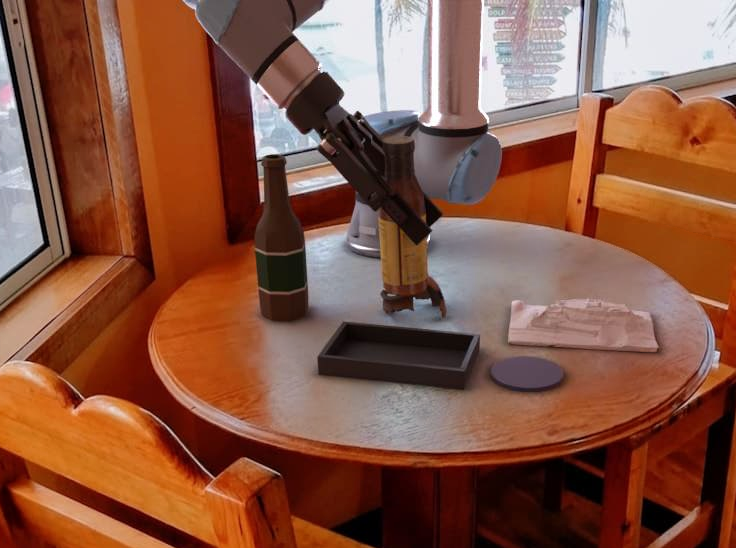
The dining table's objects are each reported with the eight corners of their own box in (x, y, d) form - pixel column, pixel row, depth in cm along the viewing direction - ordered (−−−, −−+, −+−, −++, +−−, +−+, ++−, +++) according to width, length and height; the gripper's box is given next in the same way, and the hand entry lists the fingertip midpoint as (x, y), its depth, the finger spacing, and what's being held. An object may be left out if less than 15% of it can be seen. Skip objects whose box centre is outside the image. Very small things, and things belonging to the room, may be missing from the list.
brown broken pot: (450, 329, 150) (425, 288, 145) (396, 349, 154) (370, 310, 149) (453, 282, 158) (430, 242, 153) (402, 302, 162) (378, 264, 157)
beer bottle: (250, 317, 153) (235, 159, 140) (277, 300, 159) (265, 147, 145) (293, 326, 150) (282, 166, 137) (319, 308, 156) (310, 153, 143)
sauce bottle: (431, 283, 135) (432, 133, 124) (423, 300, 130) (423, 146, 119) (384, 280, 136) (382, 131, 125) (375, 296, 131) (371, 143, 120)
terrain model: (501, 315, 157) (501, 284, 154) (645, 309, 156) (647, 278, 154) (509, 358, 143) (509, 325, 140) (667, 352, 142) (671, 319, 140)
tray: (343, 338, 146) (342, 321, 145) (479, 351, 143) (480, 333, 141) (318, 374, 136) (317, 356, 135) (463, 389, 132) (464, 371, 131)
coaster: (496, 356, 141) (496, 353, 141) (566, 363, 139) (566, 359, 139) (485, 387, 133) (485, 383, 133) (558, 395, 131) (559, 391, 131)
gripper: (308, 96, 132) (426, 224, 138) (257, 129, 116) (393, 273, 122) (344, 55, 128) (464, 189, 134) (297, 84, 112) (435, 234, 118)
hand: (430, 229), depth 128 cm, fingers closed on sauce bottle, 6 cm apart
